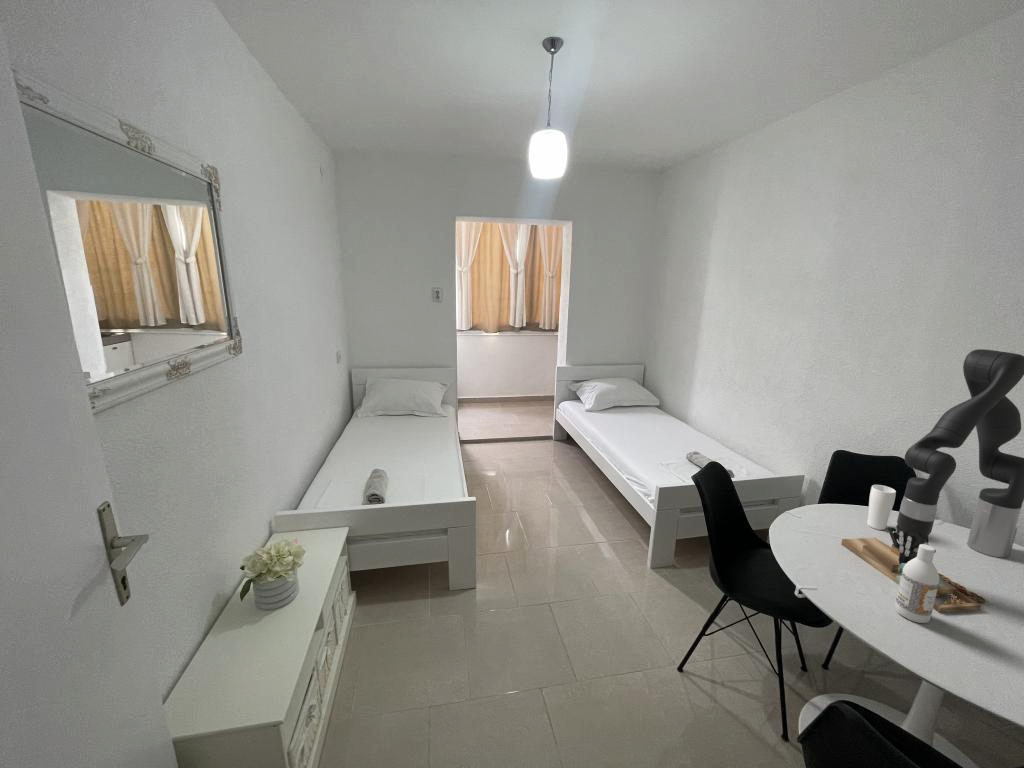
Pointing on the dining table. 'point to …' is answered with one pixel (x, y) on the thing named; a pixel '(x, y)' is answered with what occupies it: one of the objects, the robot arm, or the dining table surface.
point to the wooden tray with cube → (889, 565)
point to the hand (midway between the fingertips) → (904, 565)
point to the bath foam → (918, 586)
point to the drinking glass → (880, 506)
